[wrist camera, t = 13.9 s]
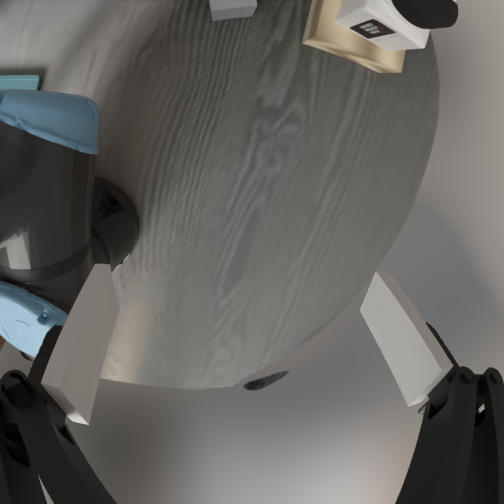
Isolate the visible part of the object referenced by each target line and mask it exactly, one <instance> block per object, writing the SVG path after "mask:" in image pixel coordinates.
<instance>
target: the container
mask: <svg viewBox="0 0 504 504" xmlns="http://www.w3.org/2000/svg"><path fill="white" fill-rule="evenodd" d="M457 17H458V6H457V2H456V0H343V1H342V4H341V6H340V9H339V11H338V14H337V17H336V19H335V22H336V23H337V24H339V25H341V26H343V27H345V28H347V29H349V30H351V31H353V32H354V33H356V34H358V35H360V36H362V37H364V38H365V39H367V40H369V41H371V42H372V43H374V44H376V45H377V46H379V47H381V48H382V49H384V50H385V51H396V50H407V49H421V48H425V46H426V43H427V39H428V35H429V32H430V29H435V28H446V27H451V26H452V25H454V24H455V22H456V20H457Z"/></svg>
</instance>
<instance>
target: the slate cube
mask: <svg viewBox="0 0 504 504" xmlns="http://www.w3.org/2000/svg"><path fill="white" fill-rule="evenodd" d="M209 4H210V10H211V16H212V21H218V20H225V19H232V18H241V17H252V16H253V14H254V12H255V10H256V8H257V1H256V0H209Z"/></svg>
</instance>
